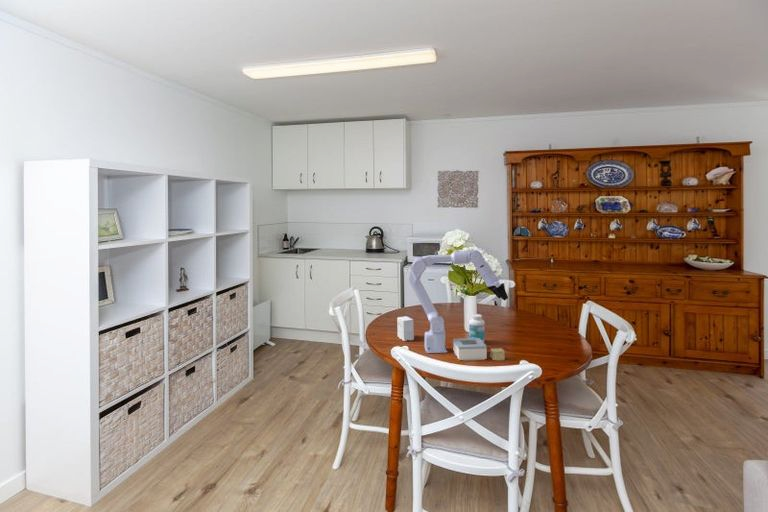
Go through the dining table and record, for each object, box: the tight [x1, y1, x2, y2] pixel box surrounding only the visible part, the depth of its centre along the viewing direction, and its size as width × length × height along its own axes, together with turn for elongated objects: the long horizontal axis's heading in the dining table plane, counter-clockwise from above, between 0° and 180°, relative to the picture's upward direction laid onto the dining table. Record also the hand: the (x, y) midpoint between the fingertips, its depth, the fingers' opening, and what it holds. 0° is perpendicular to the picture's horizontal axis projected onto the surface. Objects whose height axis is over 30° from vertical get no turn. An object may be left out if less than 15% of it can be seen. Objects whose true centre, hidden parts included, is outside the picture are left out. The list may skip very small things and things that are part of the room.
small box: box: [396, 315, 415, 342], centre depth 211 cm, size 8×6×10 cm
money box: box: [452, 337, 488, 361], centre depth 186 cm, size 12×12×6 cm
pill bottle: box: [468, 313, 486, 344], centre depth 204 cm, size 8×7×14 cm
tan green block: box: [490, 347, 506, 361], centre depth 181 cm, size 5×4×4 cm
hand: (503, 298), depth 188 cm, fingers open, 7 cm apart
